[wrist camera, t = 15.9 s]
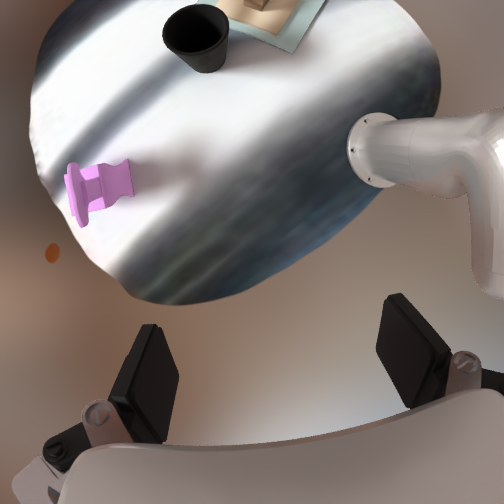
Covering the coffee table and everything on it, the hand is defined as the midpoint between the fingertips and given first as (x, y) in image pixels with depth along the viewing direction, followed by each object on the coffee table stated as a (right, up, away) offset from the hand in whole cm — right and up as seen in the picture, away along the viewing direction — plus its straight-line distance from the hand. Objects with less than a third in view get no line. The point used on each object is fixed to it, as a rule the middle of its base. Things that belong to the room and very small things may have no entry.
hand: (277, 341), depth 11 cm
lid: (0, +43, +18) cm, 47 cm away
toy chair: (-25, +15, +29) cm, 41 cm away
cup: (-8, +33, +23) cm, 41 cm away
